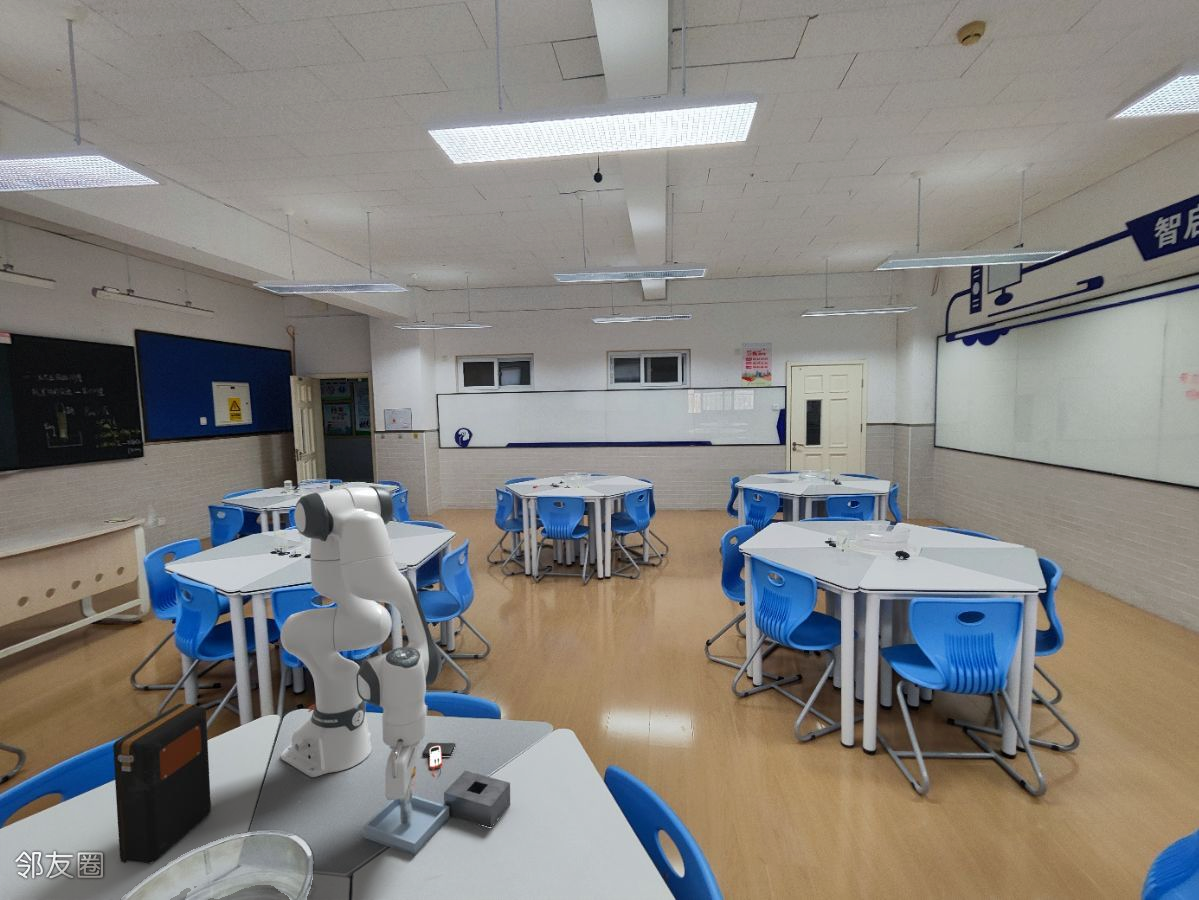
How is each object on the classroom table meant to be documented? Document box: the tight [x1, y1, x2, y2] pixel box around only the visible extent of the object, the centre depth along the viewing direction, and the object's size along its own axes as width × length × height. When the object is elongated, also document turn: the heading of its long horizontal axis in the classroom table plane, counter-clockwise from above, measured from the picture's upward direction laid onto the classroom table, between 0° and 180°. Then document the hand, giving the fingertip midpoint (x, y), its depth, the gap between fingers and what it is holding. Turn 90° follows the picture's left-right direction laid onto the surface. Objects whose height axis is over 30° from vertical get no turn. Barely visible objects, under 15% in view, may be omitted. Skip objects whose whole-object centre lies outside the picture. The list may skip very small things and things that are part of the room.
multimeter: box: [412, 742, 456, 787], centre depth 137 cm, size 18×12×3 cm, turn 173°
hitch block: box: [443, 770, 511, 828], centre depth 122 cm, size 12×8×5 cm, turn 69°
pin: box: [400, 766, 417, 824], centre depth 117 cm, size 4×4×11 cm
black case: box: [112, 703, 212, 864], centre depth 114 cm, size 16×9×25 cm, turn 173°
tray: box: [362, 794, 450, 856], centre depth 117 cm, size 13×11×2 cm
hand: (406, 789), depth 117 cm, fingers closed on pin, 2 cm apart
